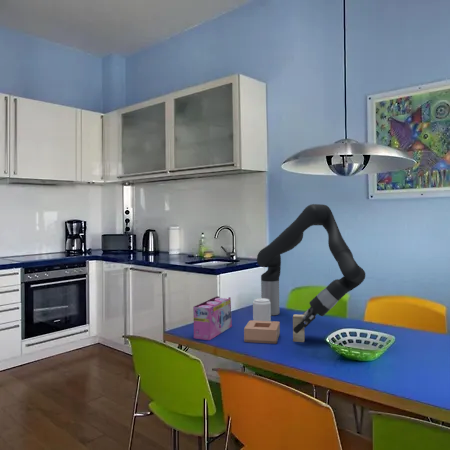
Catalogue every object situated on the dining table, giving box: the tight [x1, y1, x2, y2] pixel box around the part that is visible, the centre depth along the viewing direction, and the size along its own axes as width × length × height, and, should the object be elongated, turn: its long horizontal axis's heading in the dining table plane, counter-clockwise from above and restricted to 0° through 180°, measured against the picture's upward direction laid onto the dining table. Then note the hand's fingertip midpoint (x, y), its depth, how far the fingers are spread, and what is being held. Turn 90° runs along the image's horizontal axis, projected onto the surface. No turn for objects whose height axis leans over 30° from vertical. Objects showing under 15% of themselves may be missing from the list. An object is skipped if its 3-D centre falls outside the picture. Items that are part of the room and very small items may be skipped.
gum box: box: [192, 295, 233, 341], centre depth 188 cm, size 24×8×14 cm, turn 155°
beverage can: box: [252, 297, 272, 321], centre depth 196 cm, size 8×8×12 cm
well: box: [243, 319, 281, 345], centre depth 177 cm, size 13×13×6 cm
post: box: [292, 314, 306, 343], centre depth 174 cm, size 4×4×10 cm
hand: (295, 328), depth 174 cm, fingers open, 8 cm apart
